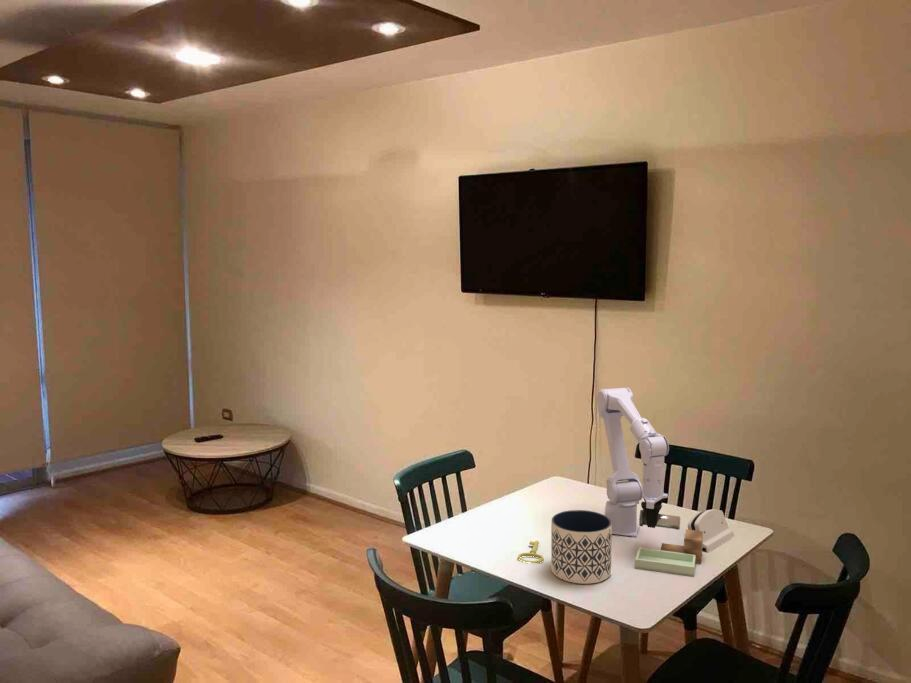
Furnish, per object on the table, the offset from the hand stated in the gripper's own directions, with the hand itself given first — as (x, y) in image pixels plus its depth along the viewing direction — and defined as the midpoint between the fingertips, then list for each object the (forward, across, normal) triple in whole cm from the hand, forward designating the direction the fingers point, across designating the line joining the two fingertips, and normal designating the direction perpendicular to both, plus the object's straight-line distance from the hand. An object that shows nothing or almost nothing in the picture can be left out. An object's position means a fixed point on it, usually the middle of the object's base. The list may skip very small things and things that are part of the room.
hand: (652, 524), depth 206 cm
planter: (+8, -19, +16) cm, 27 cm away
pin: (+1, 0, -2) cm, 2 cm away
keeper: (+8, 0, -8) cm, 11 cm away
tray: (+8, -8, -5) cm, 12 cm away
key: (+9, -13, +31) cm, 35 cm away
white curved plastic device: (+9, +14, -15) cm, 22 cm away
